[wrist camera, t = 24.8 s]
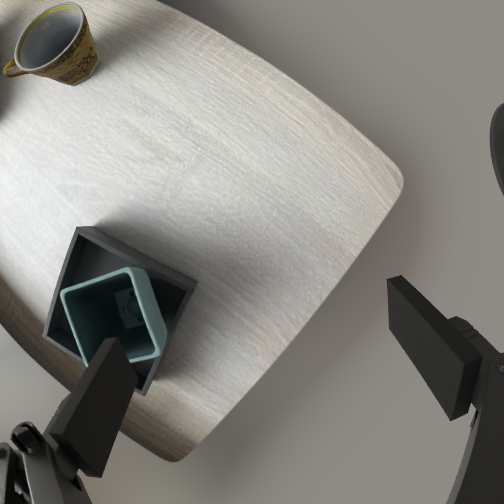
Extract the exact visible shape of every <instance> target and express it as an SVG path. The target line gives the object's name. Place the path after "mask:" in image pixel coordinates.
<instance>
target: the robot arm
mask: <svg viewBox="0 0 504 504" xmlns="http://www.w3.org/2000/svg"><path fill="white" fill-rule="evenodd" d="M387 291H388V313H389V329H390V330H391V332H392V333H393V335H394V336H395V338H396V339H397V340H398V342H399V343H400V345H401V346H402V348H403V349H404V351H405V352H406V354H407V355H408V356H409V358H410V359H411V361H412V362H413V364H414V365H415V367H416V368H417V370H418V371H419V373H420V374H421V376H422V377H423V379H424V380H425V382H426V383H427V385H428V387H429V388H430V390H431V391H432V393H433V394H434V396H435V397H436V399H437V400H438V402H439V404H440V405H441V407H442V408H443V410H444V412H445V413H446V414H447V416H448V418H449V420H450V421H452V420H454V419H456V418H459V417H461V416H463V415H465V414H467V413H468V411H469V407H470V404H471V403H472V404H473V405H474V407H475V408H476V411H475V414H474V417H473V420H472V422H471V425H470V427H471V430H470V434H469V438H468V441H467V445H466V448H465V452H464V455H463V458H462V462H461V465H460V468H459V471H458V474H457V476H456V480H455V482H454V485H453V487H452V490H451V493H450V495H449V498H448V501H447V503H446V504H504V353H499V352H498V351H497V350H496V349H495V348H494V347H493V346H492V345H491V344H490V343H489V342H488V341H487V340H486V339H485V338H484V337H483V336H482V335H481V334H479V332H478V331H477V330H476V329H474V328H473V326H472V325H471V324H469V323H468V322H467V321H466V320H464V319H462V318H459V317H457V316H455V317H453V318H450V319H447V318H446V317H444V315H443V314H441V313H440V312H439V311H438V310H437V309H436V308H435V307H434V306H433V305H432V304H431V303H430V302H429V301H428V300H427V299H426V298H425V297H424V296H423V295H422V294H421V293H420V292H419V291H418V290H417V289H416V288H414V287H413V286H412V285H411V284H410V283H409V282H408V281H407V280H406V279H405V278H404V277H403V276H402V275H400V276H397V277H393V278H389V279H387ZM138 380H139V378H138V377H137V375H136V373H135V371H134V369H133V367H132V365H131V363H130V361H129V359H128V357H127V356H126V354H125V352H124V350H123V347H122V345H121V343H120V341H119V339H118V337H114V338H108V339H105V340H104V341H103V343H102V344H101V346H100V348H99V349H98V351H97V352H96V354H95V355H94V357H93V359H92V360H91V362H90V363H89V365H88V366H87V368H86V370H85V371H84V373H83V375H82V376H81V378H80V379H79V381H78V383H77V384H76V386H75V388H74V389H73V391H72V393H70V394H69V395H68V396H67V397H66V398H65V399H64V400H63V401H62V402H61V404H60V405H59V407H58V410H56V412H55V414H54V416H53V417H52V419H51V421H50V422H49V424H48V426H47V428H46V430H45V431H44V433H43V435H41V433H40V432H39V431H38V430H37V428H36V427H35V426H34V425H33V424H32V423H31V422H23V423H20V424H19V425H18V426H16V427H15V428H14V429H13V430H12V432H11V434H10V439H11V440H12V442H13V443H14V444H15V445H16V446H17V447H18V449H19V450H13V449H12V448H11V446H10V445H9V444H8V443H5V442H4V443H0V504H92V502H91V500H90V498H89V496H88V494H87V492H86V489H85V487H84V485H83V482H82V480H81V478H80V477H79V476H78V475H77V471H78V469H80V470H82V472H83V473H84V474H85V475H86V476H89V477H98V478H101V477H102V474H103V471H104V469H105V466H106V463H107V460H108V458H109V455H110V452H111V449H112V447H113V444H114V441H115V439H116V436H117V433H118V431H119V428H120V426H121V423H122V420H123V418H124V415H125V413H126V410H127V407H128V405H129V402H130V400H131V397H132V395H133V392H134V390H135V387H136V385H137V382H138ZM14 486H16V487H18V488H19V494H18V493H17V492H15V487H14Z"/></svg>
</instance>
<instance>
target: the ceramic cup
mask: <svg viewBox="0 0 504 504" xmlns="http://www.w3.org/2000/svg"><path fill="white" fill-rule="evenodd" d="M99 62H100V59H99V55H98V50H97V47H96V45H95V42H94V40H93V38H92V35H91V33H90V29H89V25H88V22H87V19H86V16H85V14H84V12H83V10H82V8H81V7H80V6H79V5H77V4H75V3H70V2H66V3H60V4H57V5H54V6H52V7H50V8H48V9H46V10H45V11H43V12H42V13H40V14H39V15H38V16H37V17H35V18H34V19H33V20H32V21H31V22H30V23H29V24H28V26H27V27H26V28H25V30H24V31H23V33H22V34H21V36H20V38H19V40H18V42H17V45H16V48H15V59H13V60H11V61H10V62H9V63H8V64H7V65H6V66H5V67H4V71H3V72H4V75H5V76H6V77H17V76H20V75H24V74H34V75H37V76H41V77H47V78H50V79H53V80H56V81H58V82H60V83H63V84H67V85H71V86H76V85H78V84H79V83H81V82H83V81H85V80H87V79H88V78H90V77H91V76H92V74H93V73H94V71H95V69H96V67H97V66H98V64H99ZM16 66H18V67H19V68H20V69H21V70H23V71H20V72H16V73H7V71H8V70H10V69H11V68H14V67H16Z"/></svg>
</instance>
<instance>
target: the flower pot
mask: <svg viewBox="0 0 504 504" xmlns="http://www.w3.org/2000/svg"><path fill="white" fill-rule="evenodd" d="M132 291H133V292H134V295H131V292H132ZM60 296H61V299H62V303H63V306H64V308H65V311H66V314H67V317H68V320H69V323H70V326H71V328H72V331H73V334H74V337H75V339H76V342H77V345H78V348H79V350H80V352H81V355H82V358H83V360H84V363H85V365H86V367H87V366H88V365H89V363H90V362H91V360H92V359H93V357H94V355H95V354H96V352H97V351H98V349H99V348H100V346H101V344H102V343H103V341H104V340H105V339H108V338H114V337H118V339H119V341H120V343H121V345H122V347H123V350H124V352H125V354H126V356H127V357H128V359H129V361H130V363H132V362H137V361H142V360H146V359H151V358H155V357H158V356H160V355H161V352H162V350H163V347H164V345H165V342H166V339H167V329H166V325H165V323H164V320H163V317H162V314H161V312H160V309H159V306H158V303H157V300H156V297H155V294H154V291H153V288H152V285H151V281H150V278H149V276H148V274H147V272H146V271H144V270H143V269H139V268H132V267H125V268H122V269H119V270H117V271H114V272H111V273H109V274H106V275H103V276H100V277H98V278H95V279H92V280H89V281H86V282H83V283H81V284H78V285H75V286H72V287H68V288H65V289H63V290H62V291H61V293H60ZM124 308H126V309H127V312H125V311H124ZM140 317H142V318H143V321H140V320H139V318H140Z"/></svg>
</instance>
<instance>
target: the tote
mask: <svg viewBox="0 0 504 504" xmlns="http://www.w3.org/2000/svg"><path fill="white" fill-rule="evenodd" d="M125 267H132V268H139V269H143V270H144V271H146V272H147V274H148V276H149V278H150V281H151V285H152V288H153V291H154V294H155V297H156V300H157V303H158V306H159V309H160V312H161V314H162V317H163V320H164V323H165V325H166V329H167V339H166V342H165V345H164V347H163V350H162V352H161V355H160V356H158V357H155V358H151V359H146V360H142V361H137V362H132V363H131V365H132V367H133V369H134V371H135V373H136V375H137V377H138V378H139V380H138V382H137V385H136V387H135V390H134V391H135V392H137V393H139V394H141V395H143V396H145V395H146V393H147V391H148V389H149V387H150V385H151V383H152V381H153V379H154V376H155V374H156V372H157V370H158V367H159V365H160V363H161V361H162V359H163V356H164V354H165V352H166V350H167V348H168V345H169V343H170V341H171V339H172V337H173V334H174V332H175V330H176V328H177V326H178V324H179V321H180V319H181V317H182V315H183V313H184V311H185V309H186V306H187V304H188V302H189V300H190V298H191V296H192V294H193V292H194V289H195V287H196V285H197V283H198V281H196V280H194V279H192V278H190V277H188V276H186V275H184V274H182V273H180V272H178V271H176V270H174V269H172V268H170V267H168V266H166V265H164V264H162V263H160V262H158V261H156V260H155V259H153V258H151V257H149V256H147V255H145V254H143V253H141V252H139V251H137V250H135V249H133V248H132V247H130V246H128V245H126V244H124V243H122V242H120V241H118V240H117V239H115V238H113V237H111V236H109V235H107V234H105V233H104V232H102V231H100V230H98V229H96V228H94V227H93V226H84V227H76V230H75V232H74V235H73V238H72V240H71V243H70V246H69V249H68V251H67V254H66V257H65V260H64V263H63V266H62V269H61V272H60V275H59V278H58V282H57V285H56V288H55V291H54V295H53V298H52V302H51V305H50V309H49V313H48V317H47V320H46V324H45V328H44V333H43V337H44V338H45V339H47V340H48V341H49V342H51V343H52V344H54V345H55V346H57V347H59V348H60V349H62V350H63V351H65V352H66V353H68V354H69V355H71V356H73V357H74V358H76V359H78V360H79V361H81V362H82V363H84V360H83V358H82V355H81V352H80V350H79V348H78V345H77V342H76V339H75V337H74V334H73V331H72V328H71V326H70V323H69V320H68V317H67V314H66V311H65V308H64V306H63V303H62V299H61V296H60V293H61V291H62V290H63V289H65V288H68V287H72V286H75V285H78V284H81V283H83V282H86V281H89V280H92V279H95V278H98V277H100V276H103V275H106V274H109V273H111V272H114V271H117V270H119V269H122V268H125ZM131 295H134V292H133V291H132V292H131ZM124 311H125V312H127V309H126V308H124ZM139 320H140V321H143V318H142V317H140V318H139ZM84 364H85V363H84Z"/></svg>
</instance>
